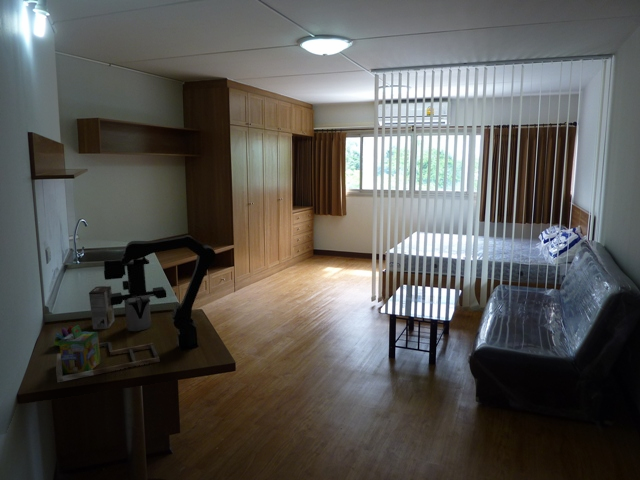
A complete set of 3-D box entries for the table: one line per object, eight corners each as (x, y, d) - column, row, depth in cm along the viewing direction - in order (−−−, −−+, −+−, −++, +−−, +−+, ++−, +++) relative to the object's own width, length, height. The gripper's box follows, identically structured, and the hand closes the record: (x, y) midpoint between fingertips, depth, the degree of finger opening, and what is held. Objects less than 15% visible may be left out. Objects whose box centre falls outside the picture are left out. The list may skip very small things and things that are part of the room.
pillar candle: (133, 322, 205) (130, 289, 202) (155, 323, 204) (152, 289, 201) (122, 331, 196) (118, 296, 193) (145, 331, 195) (141, 296, 192)
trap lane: (149, 337, 189) (148, 327, 188) (159, 361, 167) (158, 350, 166) (59, 353, 175) (57, 343, 174) (57, 382, 152) (56, 370, 152)
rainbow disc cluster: (86, 344, 183) (84, 326, 182) (59, 352, 176) (56, 333, 175) (77, 339, 189) (75, 321, 187) (50, 346, 182) (48, 328, 180)
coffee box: (99, 322, 207) (96, 286, 204) (115, 321, 208) (111, 285, 205) (92, 329, 198) (88, 292, 195) (108, 328, 199) (104, 291, 196)
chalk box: (89, 374, 158) (84, 331, 155) (61, 374, 158) (56, 332, 156) (102, 362, 167) (97, 321, 164) (76, 362, 167) (71, 322, 165)
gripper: (159, 268, 181) (162, 308, 184) (106, 275, 172) (110, 316, 175) (165, 275, 171) (168, 316, 174) (108, 282, 163) (112, 325, 165)
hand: (140, 318), depth 172 cm, fingers closed
